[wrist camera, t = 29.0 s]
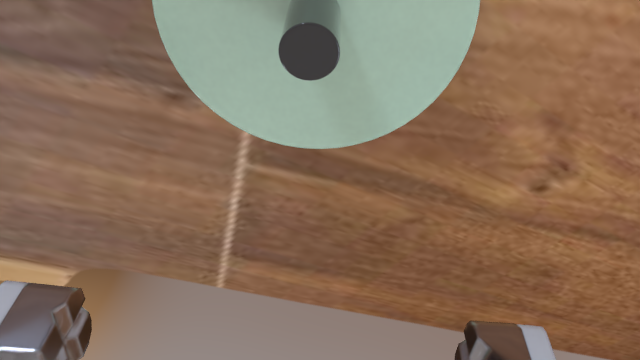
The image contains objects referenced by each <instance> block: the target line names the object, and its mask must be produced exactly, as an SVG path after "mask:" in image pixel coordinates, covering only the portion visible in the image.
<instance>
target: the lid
mask: <svg viewBox="0 0 640 360" xmlns="http://www.w3.org/2000/svg"><path fill="white" fill-rule="evenodd" d="M152 3H153V10H154V16H155V20H156V23H157V27H158V30H159V33H160V37H161V39H162V41H163V44H164V46H165V49H166V51H167V53H168V55H169V57H170V59H171V61H172V62H173V64H174V66H175V68H176V69H177V71H178V73H179V74H180V75H181V77H182V78H183V80H184V81H185V82H186V84H187V85H188V86H189V88H190V89H191V90H192V91H193V92H194V93H195V94H196V95H197V96H198V97H199V98H200V99H201V101H202V102H203V103H205V104H206V105H207V106H208V107H209V108H210V109H212V110H213V111H214V112H215V113H216V114H217V115H219V116H220V117H222V118H223V119H225V120H226V121H228V122H229V123H231V124H232V125H234V126H236V127H238V128H240V129H241V130H243V131H245V132H247V133H249V134H251V135H254V136H257V137H259V138H262V139H264V140H267V141H270V142H274V143H278V144H281V145H286V146H292V147H298V148H311V149H327V148H339V147H345V146H351V145H356V144H360V143H363V142H367V141H370V140H373V139H376V138H378V137H381V136H383V135H386V134H388V133H390V132H392V131H394V130H396V129H397V128H399V127H401V126H403V125H405V124H406V123H408V122H409V121H410V120H412V119H413V118H415V117H416V116H417V115H419V114H420V113H421V112H422V111H424V110H425V109H426V108H427V107H428V106H429V105H430V104H431V103H432V102H434V101H435V99H436V98H437V97H438V96H439V95H440V94H441V93H442V91H443V90H444V89H445V88H446V87H447V85H448V84H449V83H450V81H451V80H452V78H453V77H454V75H455V74H456V72H457V71H458V69H459V67H460V65H461V63H462V61H463V59H464V57H465V55H466V53H467V51H468V49H469V46H470V43H471V40H472V38H473V35H474V32H475V27H476V23H477V18H478V14H479V6H480V0H152Z"/></svg>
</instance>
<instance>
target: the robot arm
mask: <svg viewBox="0 0 640 360" xmlns="http://www.w3.org/2000/svg"><path fill="white" fill-rule="evenodd" d="M84 301H85V297H84V294H83V291H82V289H81V288H72V287H63V286H54V285H45V284H36V283H27V282H16V281H4V282H3V283H2V284H0V360H79V359H81V358H82V357H83V356H84V354H85V351H86V349H87V347H88V344H89V339H90V335H91V330H92V329H91V317H90V314H89V312H88V311H87V310H85V309H84V308H83V307H82V305H83V302H84ZM464 334H465V339H466V340H464V341H463V342H461V343H459V345H458V347H457V350H456V353H455V360H556V358H555V355H554V352H553V349H552V347H551V344H550V341H549V338H548V336H547V333H546V331H545V330H544V329H543V327H541V326H530V325H516V324H512V323H498V322H484V321H469V322H468V323H467V325H466V327H465V330H464Z"/></svg>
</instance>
